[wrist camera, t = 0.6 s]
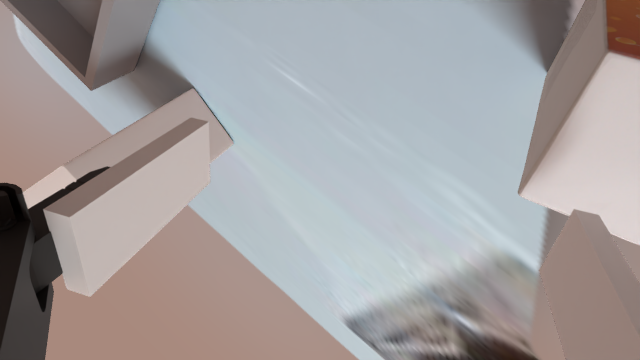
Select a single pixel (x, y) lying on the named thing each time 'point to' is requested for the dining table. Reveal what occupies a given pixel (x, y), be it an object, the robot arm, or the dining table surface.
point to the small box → (591, 121)
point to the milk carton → (133, 144)
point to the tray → (90, 33)
